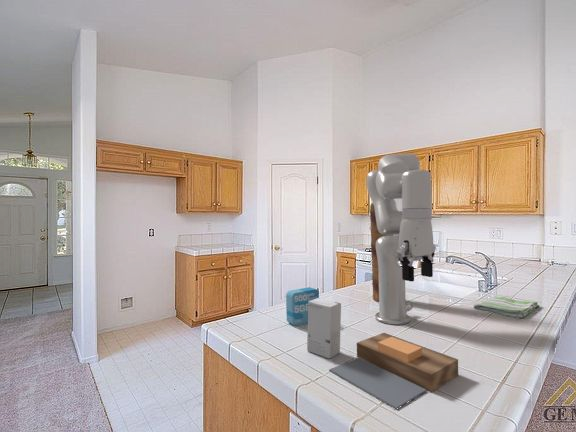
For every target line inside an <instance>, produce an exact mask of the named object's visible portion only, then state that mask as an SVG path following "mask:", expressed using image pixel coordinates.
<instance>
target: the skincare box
mask: <svg viewBox="0 0 576 432" xmlns="http://www.w3.org/2000/svg"><path fill="white" fill-rule="evenodd" d="M341 316H342V303H341V302H337V301H333V300H330V299H325V298H322V297H319V298H317V299H314V300H311V301H308V323H307V343H306V344H307V345H306V347H307V349H306V351H307V352H309V353H313V354H315V355H317V356H321V357H324V358H327V359H332V358H334V357H335V356H337V355H338V354H340V352H341V325H342V324H341V323H342V321H341V318H342V317H341Z"/></svg>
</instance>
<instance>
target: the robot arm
mask: <svg viewBox="0 0 576 432" xmlns="http://www.w3.org/2000/svg"><path fill="white" fill-rule="evenodd" d="M420 164H421V162H420V160H419V158H418V155H416V154H414V153H392V154H385V155H384V156H382V157H381V158H380V159H379V161H378V163H377V166H378V167H377V168H378V169H373V170H371V171H370V172H368V173H367V176H366V181H365V182H366V188H367V193H368V196H369V197H370V200H371V201H372V202H371V203H373V204H374V208H375V216H376V223H377V228H378V231H379V233H381V234H383V235H388V236H382V237H380V238H379V239H378V240H377V241H376V253H377V259H378V270H379V302H378V306H379V308H378V311H379V312H376V313H375V316H374V317H375V319H376V320H377V322H380V323H383V324H389V325H406V324H409V323H410V322H411V316H410V315H408V314H407V313H408V312H409V311H411V310H412V309H413V307H412V305H410V304H409V305H406V302H407V301H406V300H407V299H406V281H407V282H414V281H415V266H413V264H414V262H416V261H420V275H421V277H429V278H432V277H433V276H434V275H433V273H434V272H433V269H434V268H433V267H434V266H433V263H434V260H435V259H434V257H435V252H436V250H437V246H436V244H435V243H434V234H433V224H432V220H433V219H432V217H433V216H432V211H433V210H432V175H431V172H430V171H429V170H426V169H421V165H420ZM395 199H399V200H400V199H401V208H402V209H401V210H398V209H397V202H396V201H395ZM398 262H400V264H399V263H398Z"/></svg>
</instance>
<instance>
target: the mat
mask: <svg viewBox="0 0 576 432" xmlns="http://www.w3.org/2000/svg"><path fill="white" fill-rule="evenodd" d="M328 370H329V372H330V373H332V374H333V375H336V376H337V377H339V378H340V379H342V380H344V381H346V382H348V383H349V384H351V385H353V386H354V387H356V388H358V389H360V390H362V391H363V392H365V393H366V394H369V395H370V396H372V397H373V396H374V398H375V397H376V398H375V399H377V400H379V401H380V400H381V402H382V403H383V404H385V403H386V405H387V406H389V405H390V406H389V407H391V408H392V407H393V408H392V409H394V408H395V409H394V410H396V409H397V408H398V409H400V408H401V407H400V406H402V405H403V406H405V405H406V404H408V403H409V402H408V401H410V400H411V401H413V400H414V398H415V397H416V398H418V397H419V396H421V395H422V393H423V394H424V393H426V392H427V390H426V389H424V388H422V387H420V386H418V385H416V384H414V383H411V382H409V381H407V380H405V379H403V378H401V377H399V376H397V375H395V374H392V373H390V372H388V371H386V370H384V369H382V368H380V367H378V366H376V365H374V364H371V363H369V362H367V361H365V360H363V359H361V358H359V357H355V358H354V359H351V360H349V361H347V362H344V363H341V364H339V365H337V366H334V367H331V368H329V369H328ZM420 394H421V395H420ZM417 396H418V397H417ZM416 398H415V399H416ZM412 399H413V400H412ZM411 401H410V402H411ZM407 402H408V403H407ZM405 403H406V404H405ZM404 404H405V405H404ZM403 406H402V407H403ZM399 407H400V408H399ZM398 409H397V410H398Z"/></svg>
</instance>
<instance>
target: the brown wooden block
mask: <svg viewBox="0 0 576 432" xmlns="http://www.w3.org/2000/svg"><path fill="white" fill-rule="evenodd" d="M390 337H394V338H397V339H399V340H402V341H405V342H408V343H410V344H413V345H416V346H419V347H421V348H422V356H420V357H418V358H416V359H414V360H412V361H410V362H406V361H403V360H401V359H399V358H396V357H394V356H391V355H389V354H387V353H384V352H382V351H380V350H378V342H380V341H382V340H385V339H387V338H390ZM358 357H359V358H361V359H363V360H365V361H367V362H369V363H371V364H374V365H376V366H378V367H380V368H382V369H384V370H386V371H388V372H390V373H392V374H395V375H397V376H399V377H401V378H403V379H405V380H407V381H409V382H411V383H414V384H416V385H418V386H420V387H422V388H424V389H426V392H427V391H428V392H429V393H434V392H435V391H437V390H438V389H440V388H441V387H443V386H444V385H446V384H447V383H449V382H450V381H452V380H453V379H456V378H457V377H459V359H458V358H455V357H453V356H449V355H448V354H445V353H442V352H438V351H436V350H434V349H431V348H427V347H424V346H422V345H419V344H416V343H414V342H410V341H408V340H405V339H403V338H400V337H396V336H394V335H391V334H388V333H385V332H382V333H378V334H377V335H374V336H371V337H368V338H366V339H363V340H361V341H357V342H356V358H358ZM439 387H440V388H439Z"/></svg>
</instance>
